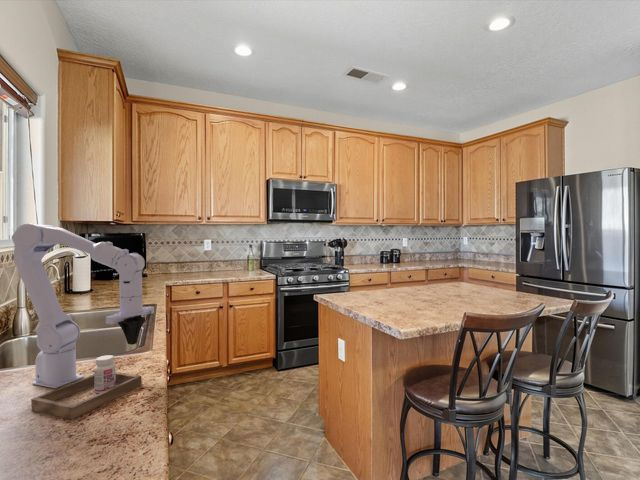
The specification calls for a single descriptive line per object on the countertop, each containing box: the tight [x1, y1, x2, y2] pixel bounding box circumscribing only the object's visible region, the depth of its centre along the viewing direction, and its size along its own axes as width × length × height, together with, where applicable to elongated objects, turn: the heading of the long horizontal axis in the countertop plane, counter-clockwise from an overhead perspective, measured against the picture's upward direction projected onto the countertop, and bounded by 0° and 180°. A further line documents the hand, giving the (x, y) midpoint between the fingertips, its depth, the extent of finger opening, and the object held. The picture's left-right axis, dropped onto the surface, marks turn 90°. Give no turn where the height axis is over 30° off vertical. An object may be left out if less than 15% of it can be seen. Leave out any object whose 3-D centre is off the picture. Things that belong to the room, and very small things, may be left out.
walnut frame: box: [30, 371, 142, 420], centre depth 88 cm, size 14×18×2 cm
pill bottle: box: [93, 354, 117, 394], centre depth 92 cm, size 5×5×8 cm
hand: (132, 343), depth 100 cm, fingers closed
